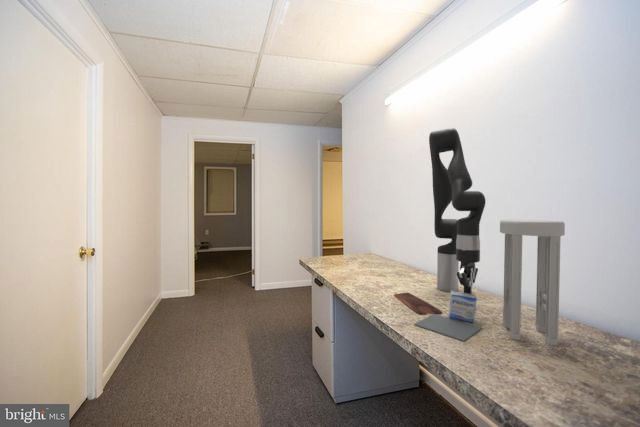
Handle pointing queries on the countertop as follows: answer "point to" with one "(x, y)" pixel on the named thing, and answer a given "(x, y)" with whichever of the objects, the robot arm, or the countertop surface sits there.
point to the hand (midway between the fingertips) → (467, 296)
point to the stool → (546, 275)
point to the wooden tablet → (417, 304)
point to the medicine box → (462, 306)
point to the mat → (449, 327)
